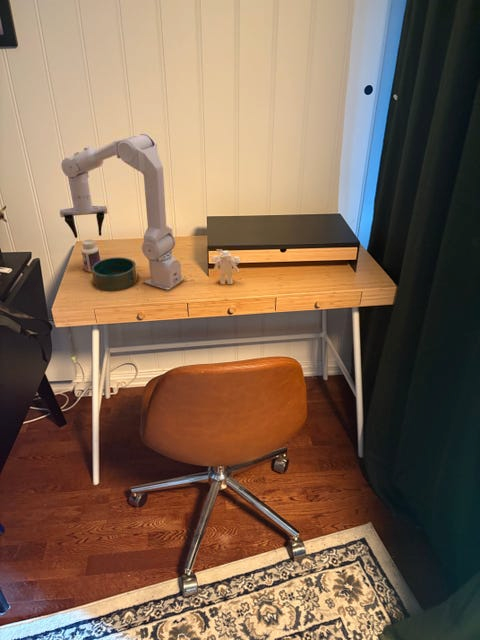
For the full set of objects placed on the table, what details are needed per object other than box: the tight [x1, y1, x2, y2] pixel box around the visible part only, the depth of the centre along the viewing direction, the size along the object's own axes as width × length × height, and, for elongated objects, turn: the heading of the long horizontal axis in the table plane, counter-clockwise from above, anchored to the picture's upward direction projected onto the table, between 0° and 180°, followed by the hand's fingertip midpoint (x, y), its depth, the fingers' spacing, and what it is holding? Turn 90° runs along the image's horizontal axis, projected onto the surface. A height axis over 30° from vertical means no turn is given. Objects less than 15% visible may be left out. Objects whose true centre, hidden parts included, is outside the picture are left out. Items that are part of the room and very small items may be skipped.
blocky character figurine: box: [211, 248, 242, 285], centre depth 148 cm, size 9×4×12 cm, turn 86°
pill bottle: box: [80, 239, 101, 273], centre depth 157 cm, size 5×5×10 cm
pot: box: [91, 256, 138, 292], centre depth 152 cm, size 14×14×5 cm
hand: (88, 235), depth 157 cm, fingers open, 7 cm apart
